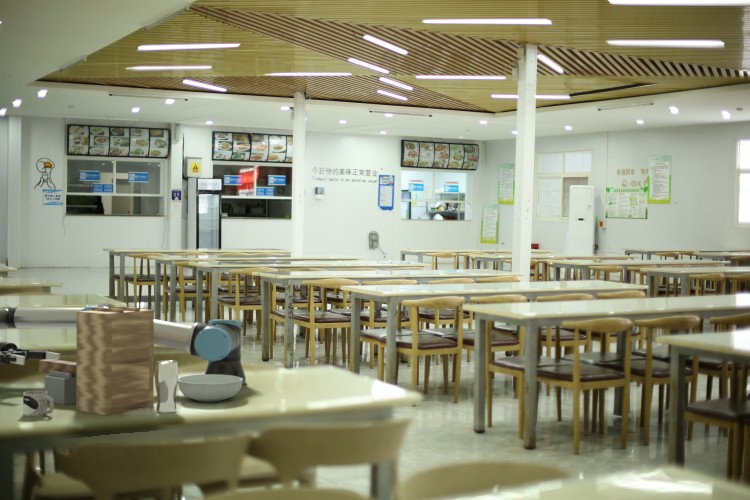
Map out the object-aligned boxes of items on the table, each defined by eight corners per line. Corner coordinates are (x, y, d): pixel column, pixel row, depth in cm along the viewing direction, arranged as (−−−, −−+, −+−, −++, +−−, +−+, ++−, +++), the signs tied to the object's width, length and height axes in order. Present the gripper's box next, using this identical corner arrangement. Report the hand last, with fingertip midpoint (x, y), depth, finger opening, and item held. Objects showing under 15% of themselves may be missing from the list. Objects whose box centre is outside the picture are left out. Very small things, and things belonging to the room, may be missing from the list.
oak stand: (76, 409, 271) (76, 308, 271) (123, 401, 286) (123, 304, 285) (106, 415, 263) (106, 310, 263) (153, 406, 278) (153, 306, 278)
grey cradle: (44, 401, 285) (44, 371, 285) (76, 395, 295) (76, 367, 295) (64, 404, 279) (64, 374, 279) (95, 399, 289) (95, 370, 289)
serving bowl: (243, 404, 282) (243, 383, 282) (175, 406, 279) (175, 384, 278) (242, 393, 303) (242, 373, 302) (178, 394, 299) (179, 374, 299)
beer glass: (156, 414, 266) (156, 363, 265) (152, 409, 272) (152, 360, 272) (180, 412, 268) (180, 362, 268) (175, 408, 275) (175, 359, 275)
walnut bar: (39, 372, 293) (39, 360, 293) (49, 370, 296) (49, 358, 296) (85, 379, 279) (85, 366, 279) (96, 377, 283) (96, 365, 283)
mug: (18, 415, 262) (18, 393, 262) (34, 411, 268) (34, 389, 268) (45, 418, 258) (45, 395, 258) (61, 414, 264) (61, 392, 264)
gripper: (33, 360, 318) (72, 367, 306) (-32, 365, 297) (7, 373, 285) (35, 339, 318) (73, 345, 306) (-30, 343, 297) (8, 350, 285)
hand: (41, 359), depth 296 cm, fingers open, 13 cm apart
